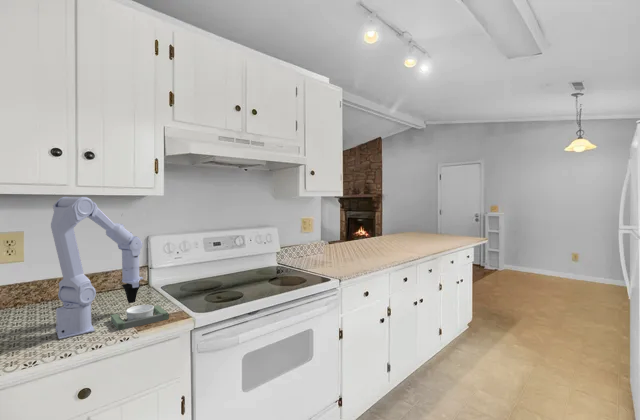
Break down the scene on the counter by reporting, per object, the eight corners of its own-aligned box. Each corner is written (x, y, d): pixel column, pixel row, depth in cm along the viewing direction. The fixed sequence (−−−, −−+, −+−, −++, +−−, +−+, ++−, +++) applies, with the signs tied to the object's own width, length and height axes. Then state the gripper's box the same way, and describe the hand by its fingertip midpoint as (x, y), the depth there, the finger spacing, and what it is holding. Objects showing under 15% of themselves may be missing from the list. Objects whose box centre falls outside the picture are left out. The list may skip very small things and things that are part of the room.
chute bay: (118, 330, 114) (118, 324, 113) (111, 320, 123) (110, 314, 122) (168, 318, 124) (168, 313, 124) (158, 310, 133) (158, 305, 133)
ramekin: (141, 326, 118) (141, 313, 118) (120, 323, 120) (119, 311, 120) (159, 317, 126) (159, 305, 126) (139, 315, 128) (138, 303, 128)
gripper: (147, 268, 128) (148, 304, 129) (137, 263, 139) (138, 296, 140) (126, 271, 124) (127, 308, 124) (117, 265, 135) (118, 299, 135)
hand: (131, 302), depth 132 cm, fingers closed
